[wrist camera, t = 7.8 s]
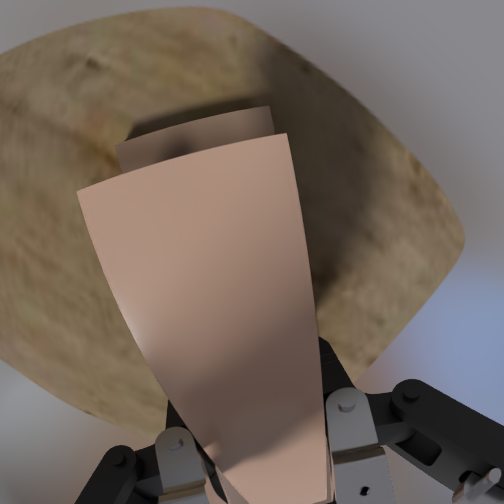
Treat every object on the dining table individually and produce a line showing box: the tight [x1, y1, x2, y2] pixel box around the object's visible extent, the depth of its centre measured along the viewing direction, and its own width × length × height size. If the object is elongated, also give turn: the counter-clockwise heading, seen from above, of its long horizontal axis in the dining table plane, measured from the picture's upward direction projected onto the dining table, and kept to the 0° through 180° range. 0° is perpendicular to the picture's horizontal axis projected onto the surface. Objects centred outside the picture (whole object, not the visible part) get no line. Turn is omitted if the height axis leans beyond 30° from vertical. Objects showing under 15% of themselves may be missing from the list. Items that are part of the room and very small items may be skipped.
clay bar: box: [77, 133, 327, 504], centre depth 9 cm, size 4×16×5 cm, turn 12°
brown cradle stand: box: [115, 105, 276, 174], centre depth 17 cm, size 20×9×6 cm, turn 12°
